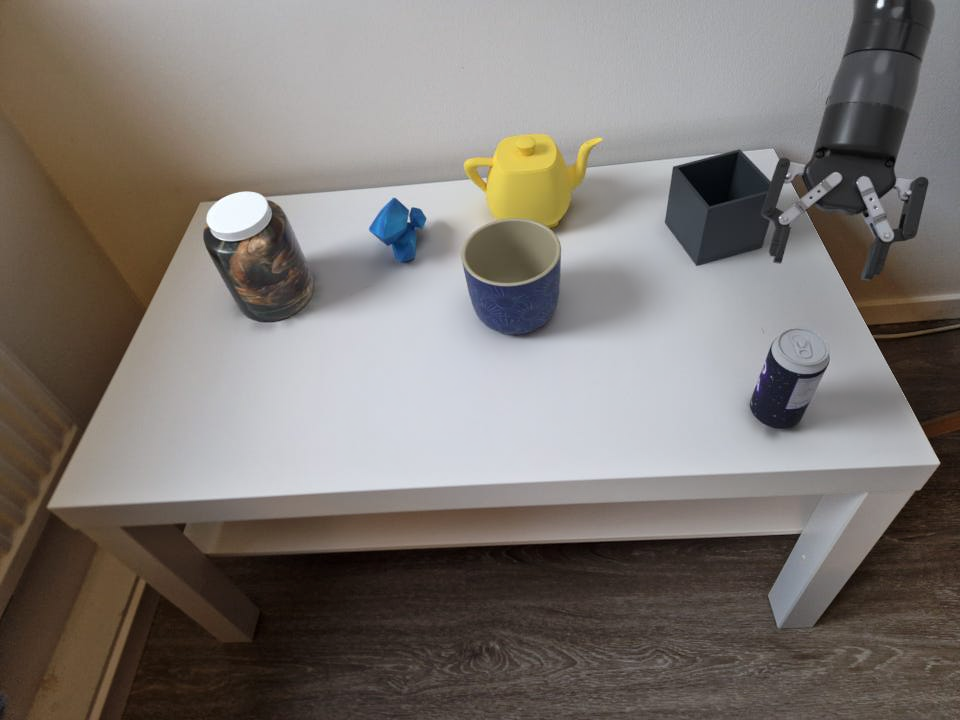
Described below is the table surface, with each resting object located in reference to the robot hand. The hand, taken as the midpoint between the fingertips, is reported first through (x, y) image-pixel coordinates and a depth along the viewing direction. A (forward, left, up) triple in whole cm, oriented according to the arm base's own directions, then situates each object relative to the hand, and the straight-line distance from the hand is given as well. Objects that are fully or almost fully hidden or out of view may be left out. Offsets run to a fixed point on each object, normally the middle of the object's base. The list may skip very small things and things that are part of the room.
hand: (821, 271), depth 68 cm
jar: (+60, -36, -16) cm, 71 cm away
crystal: (+40, -38, -16) cm, 57 cm away
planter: (+28, -20, -16) cm, 38 cm away
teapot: (+19, -39, -16) cm, 46 cm away
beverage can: (+5, +6, -16) cm, 17 cm away
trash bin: (-3, -24, -15) cm, 29 cm away
